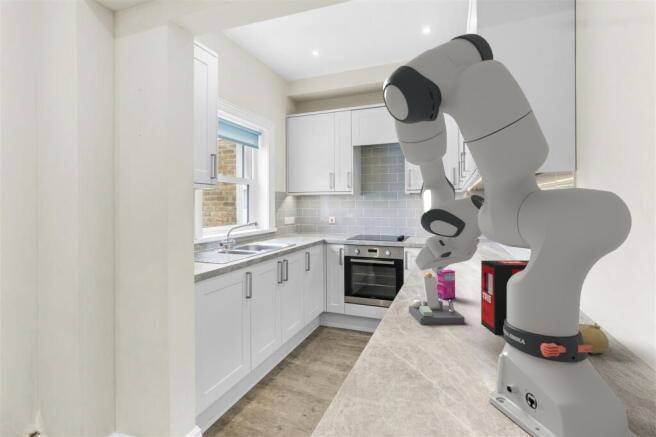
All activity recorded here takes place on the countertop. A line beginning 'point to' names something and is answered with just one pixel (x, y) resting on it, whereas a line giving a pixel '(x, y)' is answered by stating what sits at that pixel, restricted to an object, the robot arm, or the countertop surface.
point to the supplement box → (445, 284)
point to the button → (417, 303)
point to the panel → (437, 315)
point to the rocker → (425, 311)
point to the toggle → (451, 307)
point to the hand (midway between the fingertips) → (436, 270)
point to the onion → (594, 338)
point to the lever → (431, 291)
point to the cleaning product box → (496, 291)
